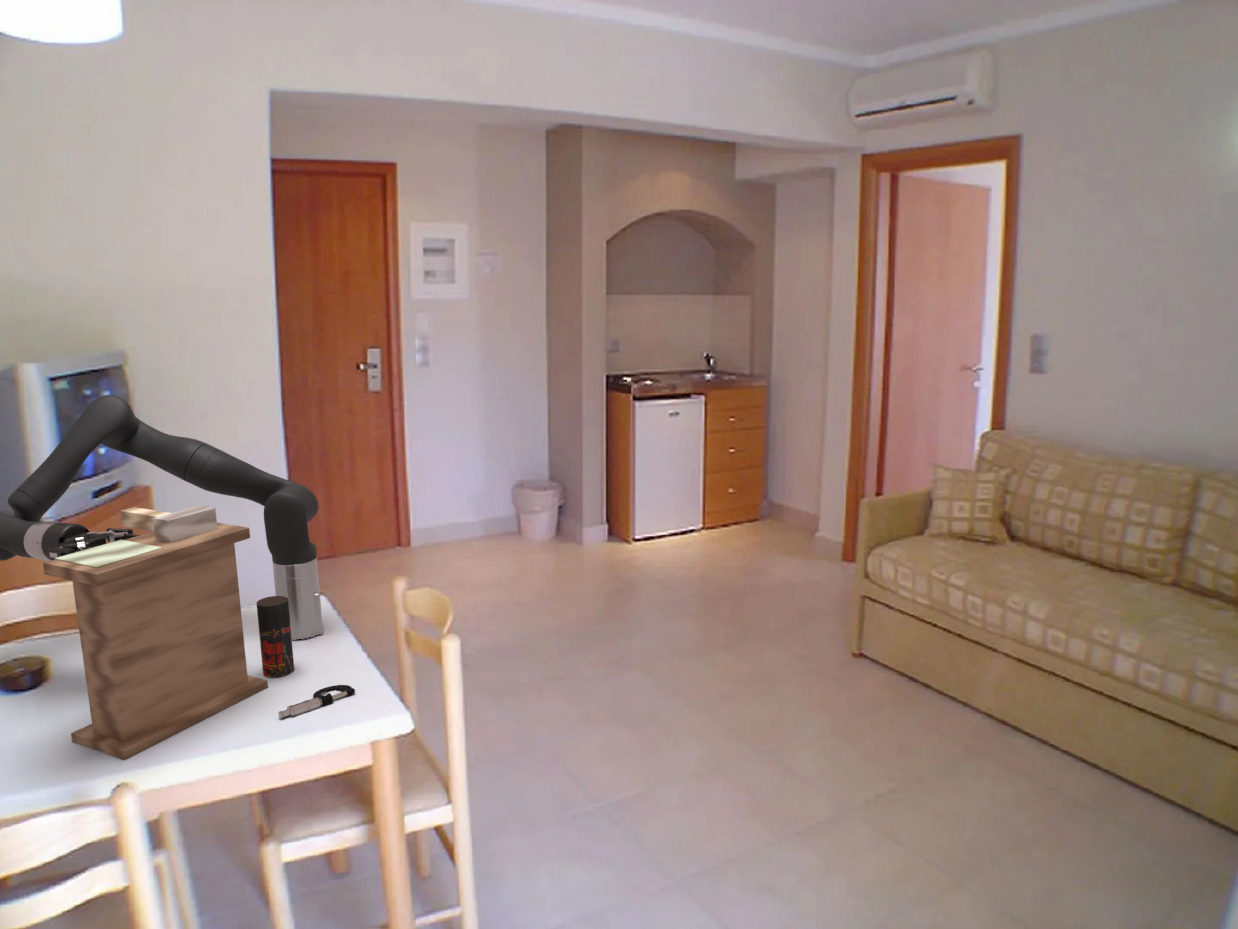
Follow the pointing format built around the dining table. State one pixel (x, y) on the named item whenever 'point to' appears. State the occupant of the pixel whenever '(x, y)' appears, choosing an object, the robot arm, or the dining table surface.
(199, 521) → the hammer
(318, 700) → the micrometer
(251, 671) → the dining table surface
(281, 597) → the deodorant
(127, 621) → the stand
